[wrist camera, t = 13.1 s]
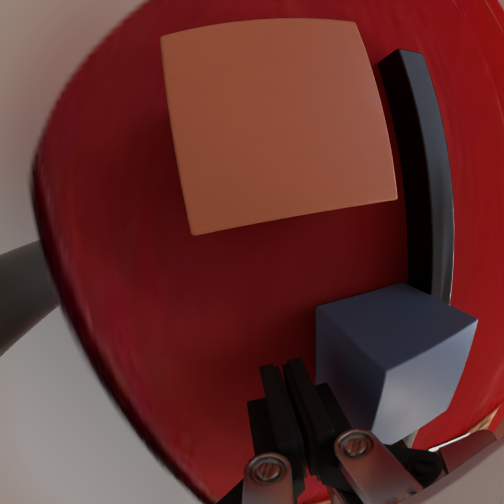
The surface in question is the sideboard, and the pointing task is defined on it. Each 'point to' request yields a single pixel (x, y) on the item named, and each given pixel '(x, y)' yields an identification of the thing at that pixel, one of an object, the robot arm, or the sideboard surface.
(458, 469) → the robot arm
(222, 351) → the sideboard surface
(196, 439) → the sideboard surface
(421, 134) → the rail
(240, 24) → the terracotta block
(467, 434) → the coaster
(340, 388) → the slate blue block
